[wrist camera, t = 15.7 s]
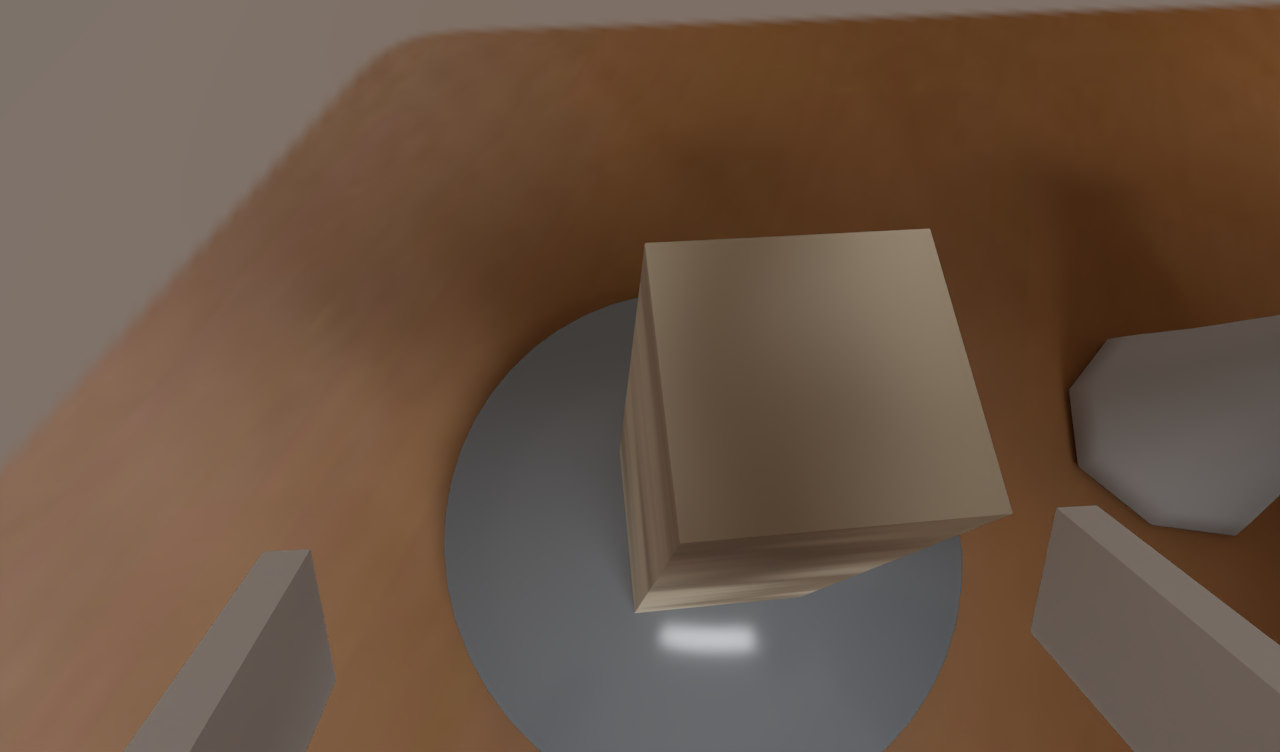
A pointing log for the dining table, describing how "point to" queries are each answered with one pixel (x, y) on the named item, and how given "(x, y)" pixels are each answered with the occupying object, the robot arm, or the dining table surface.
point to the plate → (669, 639)
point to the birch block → (796, 416)
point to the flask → (1185, 423)
